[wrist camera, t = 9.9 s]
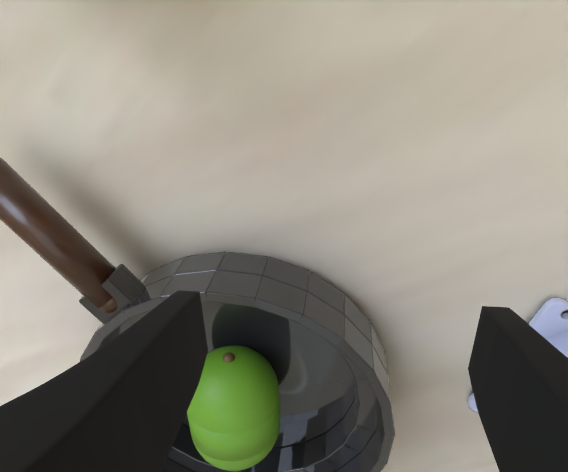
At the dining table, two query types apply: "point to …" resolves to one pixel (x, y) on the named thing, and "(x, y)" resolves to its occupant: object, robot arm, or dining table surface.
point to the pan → (284, 359)
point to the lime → (235, 408)
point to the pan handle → (65, 248)
